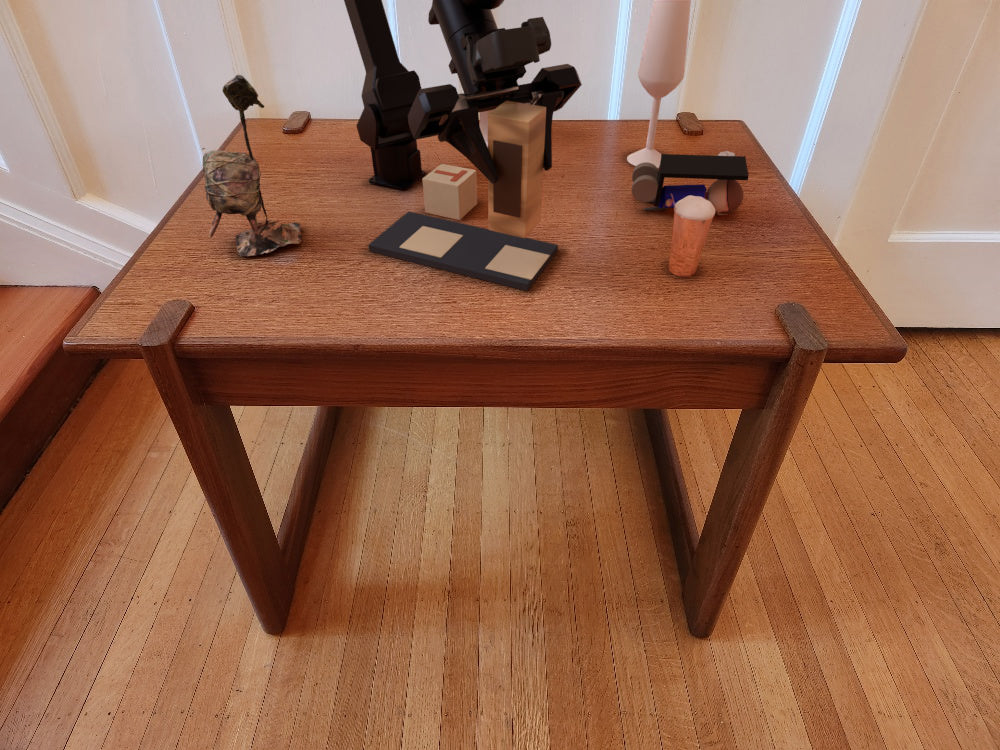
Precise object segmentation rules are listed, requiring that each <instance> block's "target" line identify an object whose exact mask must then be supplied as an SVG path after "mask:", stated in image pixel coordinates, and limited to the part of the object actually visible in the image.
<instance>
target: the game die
mask: <svg viewBox="0 0 1000 750" xmlns="http://www.w3.org/2000/svg"><path fill="white" fill-rule="evenodd" d="M716 156H736V153H735V152H733V151H732V152H731V151H728V150H724V151H720V152H719V153H718V154H717V155H716Z"/></svg>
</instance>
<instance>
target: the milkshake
mask: <svg viewBox="0 0 1000 750" xmlns="http://www.w3.org/2000/svg"><path fill="white" fill-rule="evenodd" d="M671 196H672V194H671ZM672 200H673V196H672ZM673 204H674V208H673V221H672V236H671V243H670V244H671V245H670V253H669V254H670V255H669V261H668V272H670V273H672V274H673V275H675V276H679V277H691V276H693V275H694V274H695V273H696V272H697V268H698V266H699V261H700V258H701V255H702V253H703V249H704V246H705V243H706V240H707V237H708V234H709V231H710V228H711V225H712V223H713V220H714V217H715V214H716V213H715V208H714V206H713V205H712V203H711V202H710V201H708V200H706V199H704V198H703V197H700V196H692V195H690V196H687V197H685V198H683V199H681V200H679V201H678V202H677V203H676V204H675V203H674V200H673Z"/></svg>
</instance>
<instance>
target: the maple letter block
mask: <svg viewBox="0 0 1000 750" xmlns="http://www.w3.org/2000/svg"><path fill="white" fill-rule="evenodd" d="M545 124H546V107H543V106H536V105H530V104H524V103H518V102H512V101H505V102H504V103H502V104H501V105H500V106H498V107H497V108H496V109H494V110H493V111H492V112H490V113H489V114H488V150H489V152H490V155H491V157H492V160H493V162H494V165H495V168H496V172H497V175H498V181H497V182H496V183H494V184H492V183H491V182H490V181H489V180H488V179H487V196H488V198H487V201H488V202H487V203H488V205H487V207H488V209H487V210H488V211H487V212H488V213H487V214H488V229H489V230H491V231H495V232H500V233H504V234H508V235H512V236H517V237H521V238H528V236H529V235H530V234H531V232H532V231H533V230H534V229H535V228H536V227H537V226H538V224H539V223H540V222H541V221H542V201H543V180H544V168H543V164H544V144H545Z"/></svg>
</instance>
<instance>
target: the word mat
mask: <svg viewBox="0 0 1000 750" xmlns="http://www.w3.org/2000/svg"><path fill="white" fill-rule="evenodd" d="M367 246H368V251H369V252H370V253H374V254H379V255H381V256H386V257H390V258H394V259H399V260H402V261H406V262H410V263H414V264H417V265H422V266H426V267H429V268H433V269H438V270H442V271H446V272H450V273H454V274H458V275H461V276H466V277H469V278H474V279H478V280H482V281H486V282H490V283H494V284H497V285H501V286H505V287H510V288H514V289H518V290H522V291H526V292H528V291H529V290H530V289H531V287H532V286H533V285H534V284H535V282H536V281H537V280H538V278H539V277H540V275H542V273H543V272H544V271H545V269H546V268H547V266H548V265H549V264H550V263H551V261H552V260H553V258H554V257H555V256H556V255H557V254H558V252H559V244H556V243H552V242H547V241H542V240H538V239H534V238H529V237H526V238H521V237H517V236H512V235H508V234H504V233H500V232H495V231H491V230H489V228H485V227H481V226H476V225H471V224H467V223H462V222H458V221H453V220H449V219H444V218H440V217H435V216H431V215H426V214H421V213H417V212H413V211H407V212H406V213H405V214H404V215H402V216H401V217H400V218H398V220H396V221H395V222H394V223H393V224H391V225H390V226H389V227H388V228H387V229H385V230H384V231H383V232H382V233H380V235H378V236H377V237H376V238H374V239H373V240H372V241H371V242H370V243H368V244H367Z"/></svg>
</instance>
